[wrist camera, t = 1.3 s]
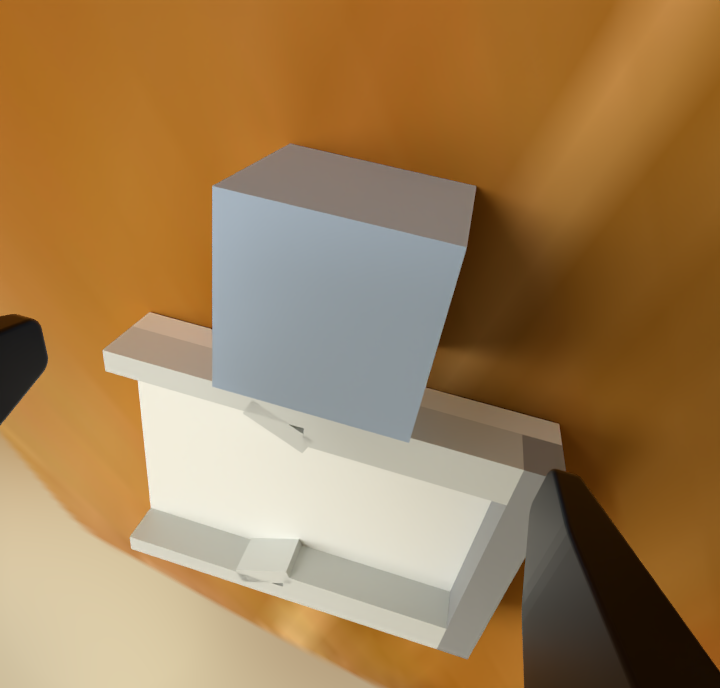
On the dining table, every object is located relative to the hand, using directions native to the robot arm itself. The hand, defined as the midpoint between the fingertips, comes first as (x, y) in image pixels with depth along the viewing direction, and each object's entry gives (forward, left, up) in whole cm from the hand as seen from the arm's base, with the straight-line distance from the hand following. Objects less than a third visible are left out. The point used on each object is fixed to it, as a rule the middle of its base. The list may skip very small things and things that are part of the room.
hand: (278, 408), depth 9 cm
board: (0, +9, -7) cm, 12 cm away
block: (0, 0, -7) cm, 7 cm away
